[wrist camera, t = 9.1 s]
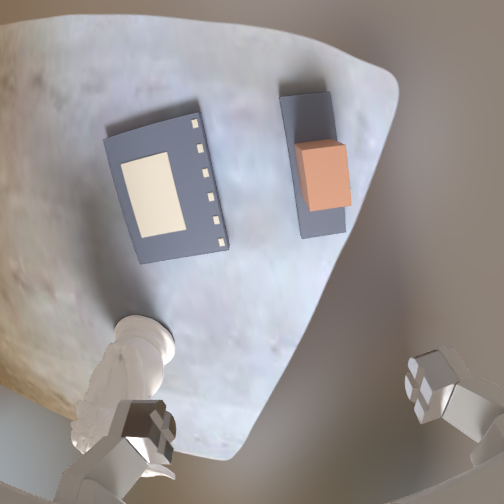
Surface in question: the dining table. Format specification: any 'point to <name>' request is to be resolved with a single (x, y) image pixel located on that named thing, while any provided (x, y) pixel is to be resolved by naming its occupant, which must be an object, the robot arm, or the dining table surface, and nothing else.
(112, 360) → the white tall statuette
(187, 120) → the grey notebook
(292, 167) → the stub
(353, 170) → the dining table surface
